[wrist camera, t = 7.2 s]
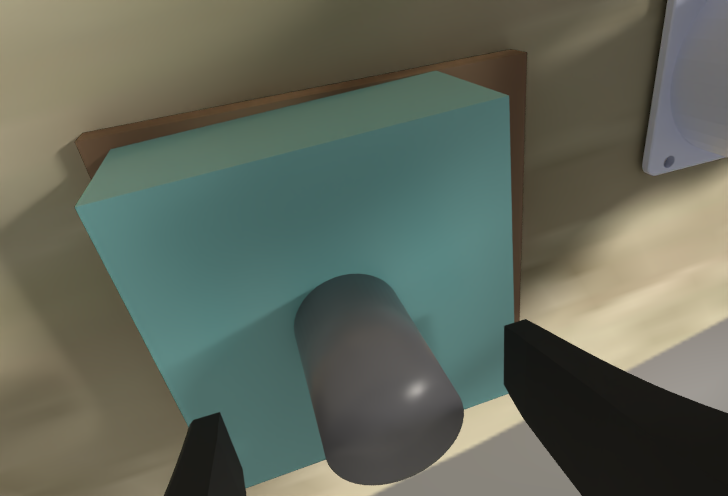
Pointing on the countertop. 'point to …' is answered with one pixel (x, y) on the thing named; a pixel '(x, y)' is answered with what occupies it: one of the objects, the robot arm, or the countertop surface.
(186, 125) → the walnut board
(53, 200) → the countertop surface
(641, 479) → the robot arm
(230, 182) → the cover
